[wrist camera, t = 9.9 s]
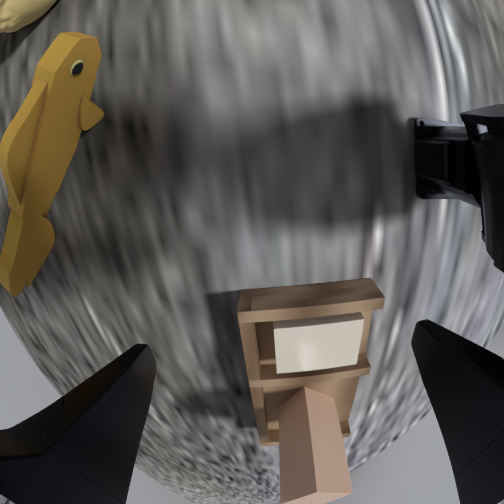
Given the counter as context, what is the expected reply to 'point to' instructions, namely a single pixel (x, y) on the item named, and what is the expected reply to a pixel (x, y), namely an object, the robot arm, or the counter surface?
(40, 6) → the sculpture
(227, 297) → the counter surface
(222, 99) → the counter surface
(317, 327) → the clay tile
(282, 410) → the clay bar
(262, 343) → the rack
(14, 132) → the decorative fish
